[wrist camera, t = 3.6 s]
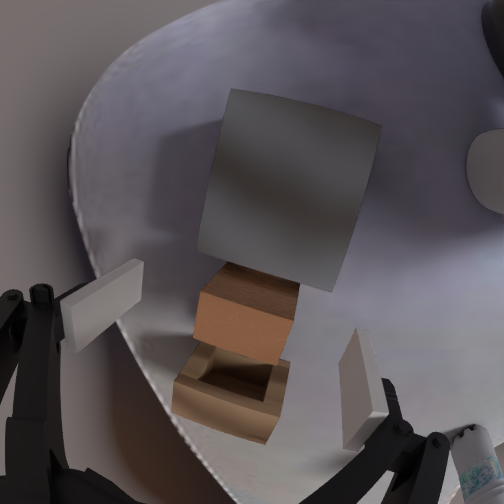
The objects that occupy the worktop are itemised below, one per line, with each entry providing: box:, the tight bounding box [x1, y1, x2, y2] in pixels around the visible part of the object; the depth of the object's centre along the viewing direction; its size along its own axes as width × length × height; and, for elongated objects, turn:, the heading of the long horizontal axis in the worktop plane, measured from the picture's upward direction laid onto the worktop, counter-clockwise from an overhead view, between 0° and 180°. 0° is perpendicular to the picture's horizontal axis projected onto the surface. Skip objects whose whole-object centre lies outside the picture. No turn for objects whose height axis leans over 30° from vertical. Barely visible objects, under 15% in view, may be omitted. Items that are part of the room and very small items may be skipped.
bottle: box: [451, 425, 504, 504], centre depth 16 cm, size 7×7×20 cm
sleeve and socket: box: [171, 89, 382, 445], centre depth 21 cm, size 26×9×8 cm, turn 166°
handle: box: [193, 261, 300, 366], centre depth 18 cm, size 18×5×10 cm, turn 166°
